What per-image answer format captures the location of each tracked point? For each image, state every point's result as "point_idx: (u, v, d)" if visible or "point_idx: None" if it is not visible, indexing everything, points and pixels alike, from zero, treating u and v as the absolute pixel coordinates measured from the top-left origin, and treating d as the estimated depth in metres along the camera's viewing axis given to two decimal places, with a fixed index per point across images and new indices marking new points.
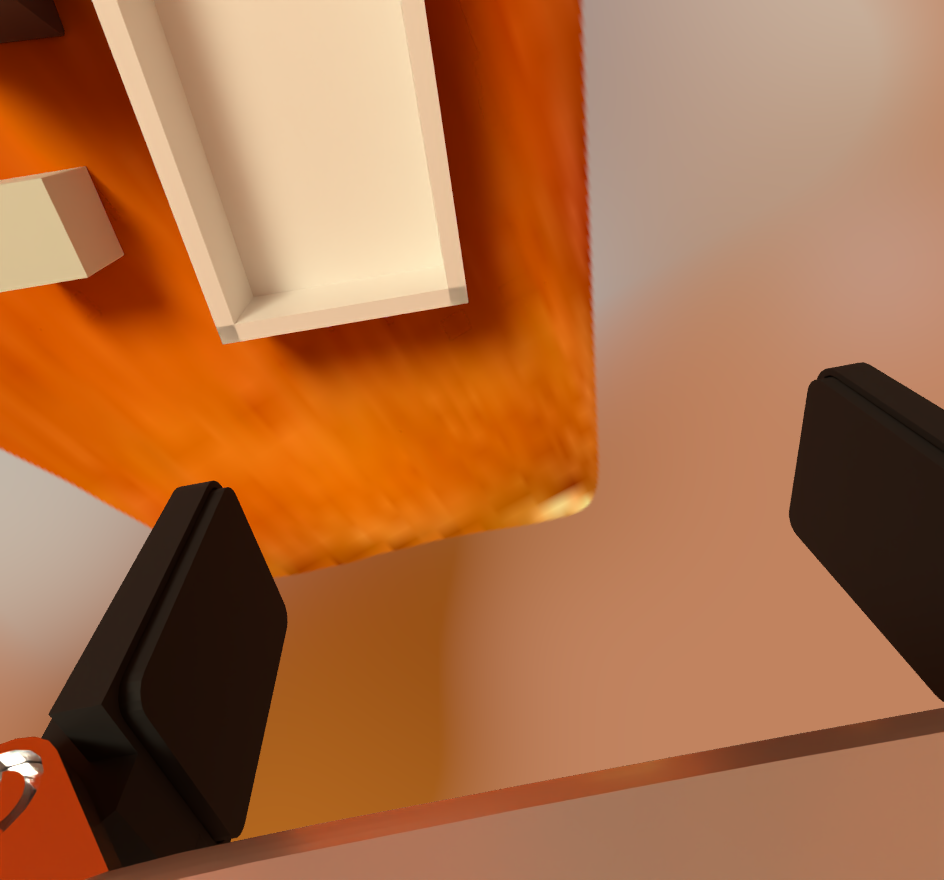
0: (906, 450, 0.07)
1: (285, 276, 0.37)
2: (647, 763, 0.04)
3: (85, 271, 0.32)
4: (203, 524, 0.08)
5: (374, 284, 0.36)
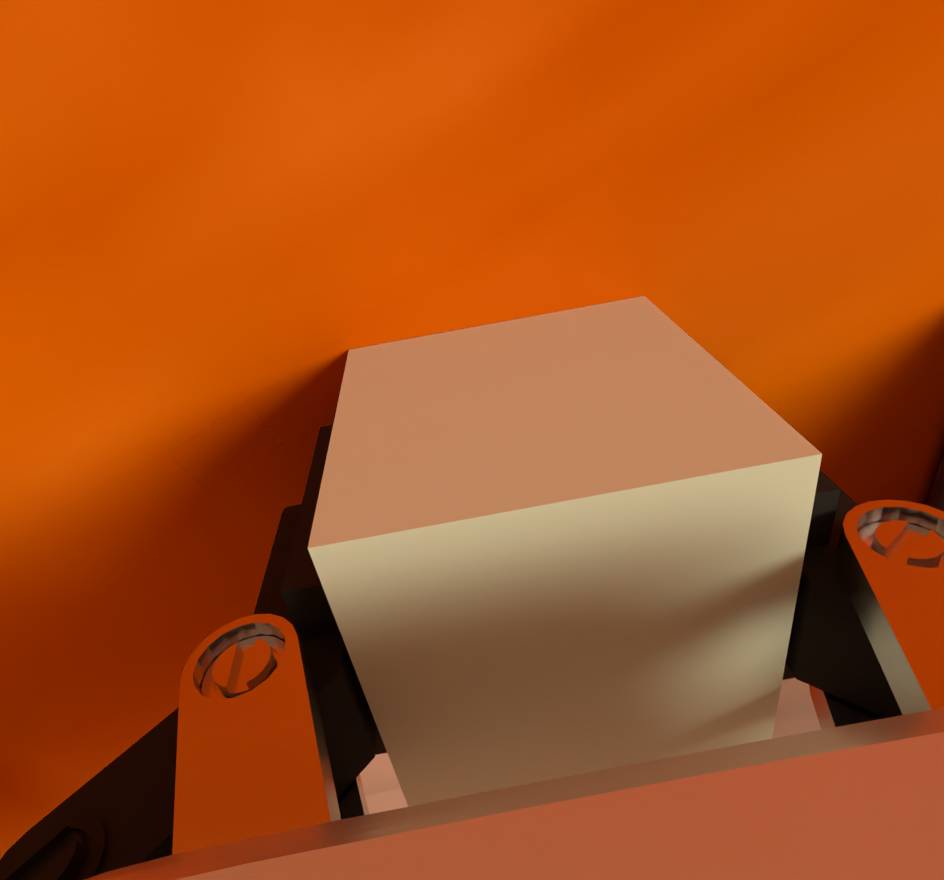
0: None
1: None
2: (647, 763, 0.04)
3: None
4: None
5: None
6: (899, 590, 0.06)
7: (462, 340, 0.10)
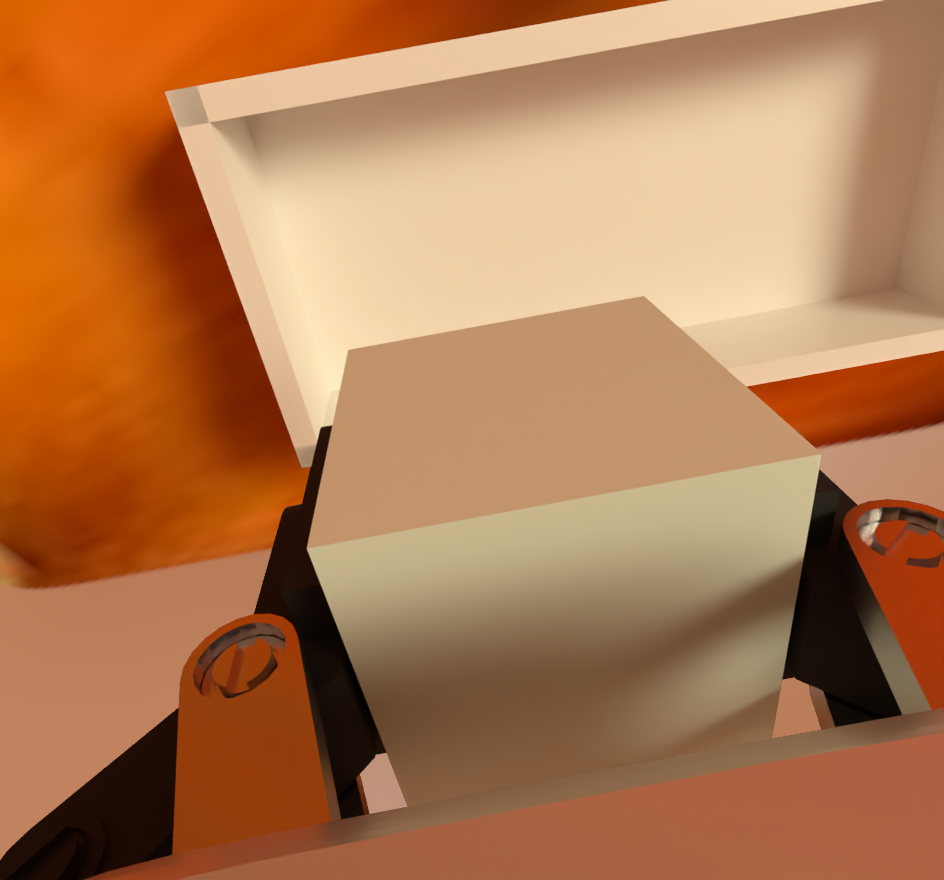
0: None
1: (287, 174, 0.24)
2: (647, 763, 0.04)
3: None
4: None
5: (298, 320, 0.26)
6: (899, 590, 0.06)
7: (462, 340, 0.10)
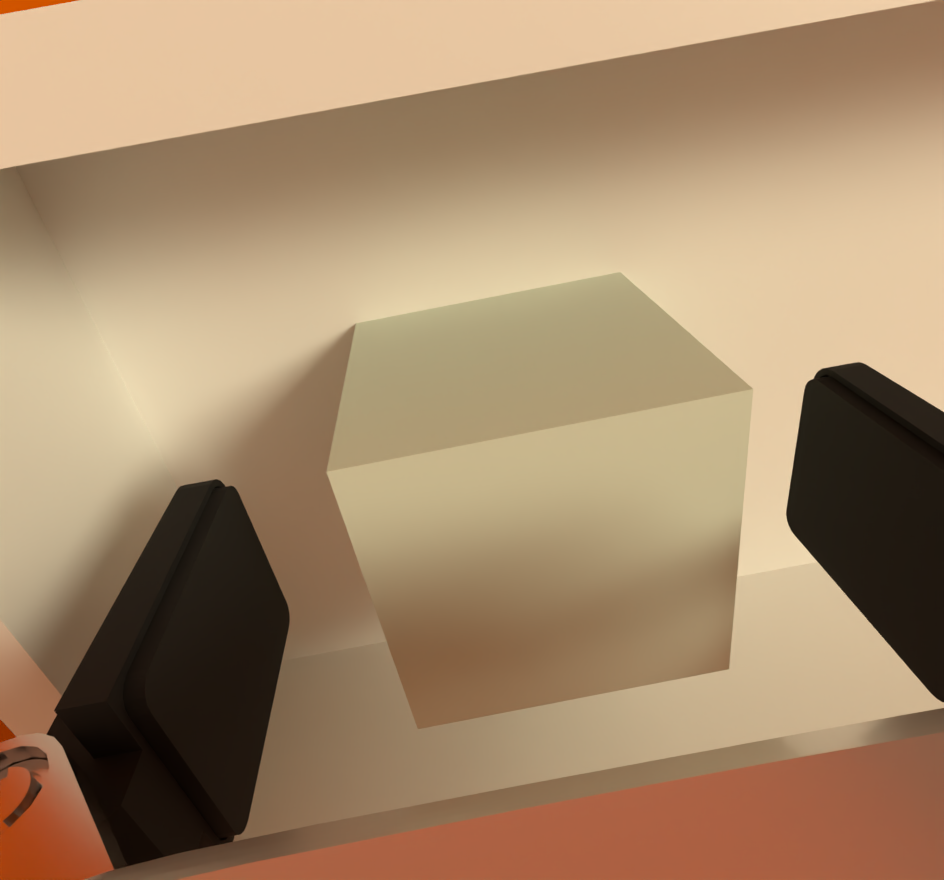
0: (901, 449, 0.07)
1: (134, 292, 0.11)
2: (647, 763, 0.04)
3: (437, 723, 0.10)
4: (206, 522, 0.08)
5: None
6: None
7: (457, 312, 0.11)
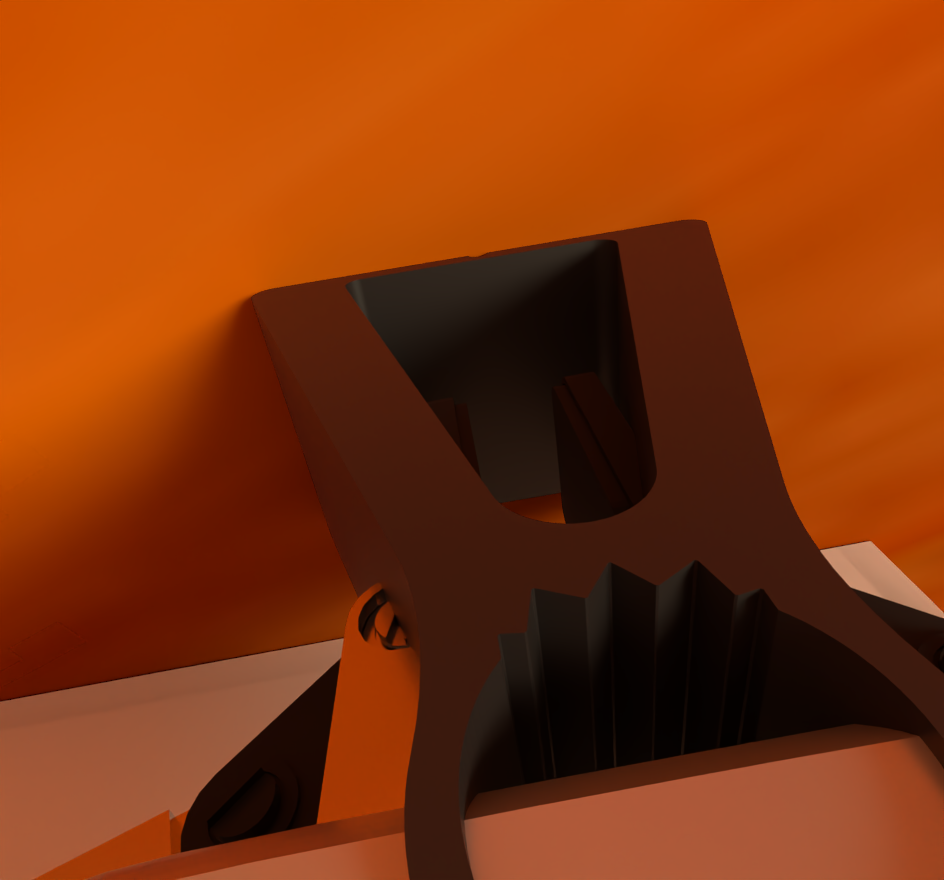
0: (581, 449, 0.08)
1: None
2: (647, 763, 0.04)
3: None
4: (464, 428, 0.09)
5: None
6: None
7: None
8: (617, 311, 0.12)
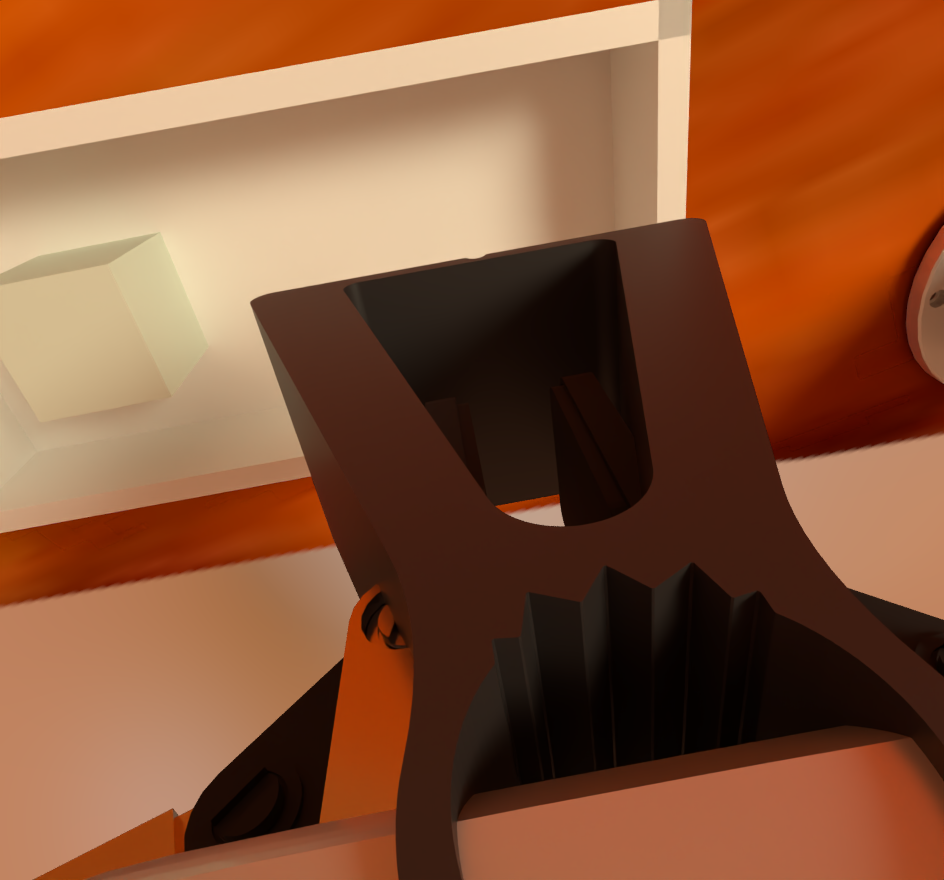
0: (579, 450, 0.08)
1: None
2: (647, 763, 0.04)
3: (49, 420, 0.23)
4: (467, 427, 0.09)
5: None
6: None
7: (78, 249, 0.24)
8: (616, 311, 0.12)
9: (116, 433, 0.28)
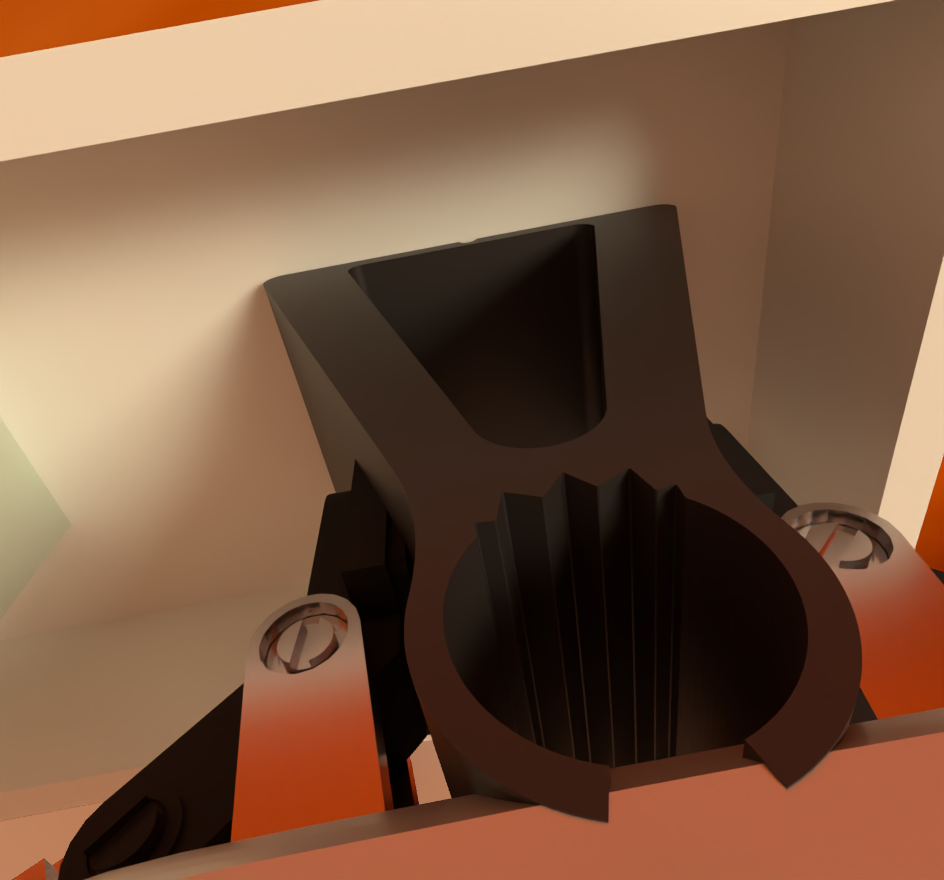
0: None
1: None
2: (647, 763, 0.04)
3: None
4: None
5: None
6: None
7: None
8: (596, 290, 0.13)
9: None
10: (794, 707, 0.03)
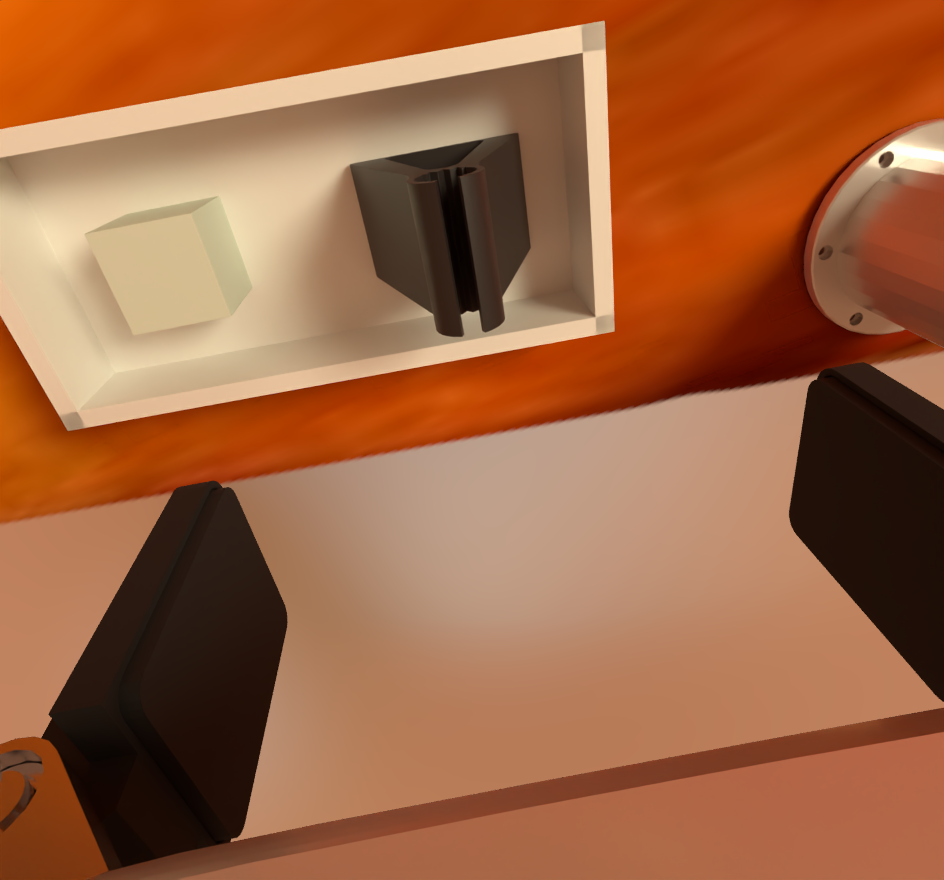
0: (906, 450, 0.07)
1: (47, 201, 0.31)
2: (646, 763, 0.04)
3: (140, 333, 0.30)
4: (203, 524, 0.08)
5: (66, 314, 0.33)
6: None
7: (158, 208, 0.32)
8: None
9: (178, 358, 0.36)
10: (466, 175, 0.22)
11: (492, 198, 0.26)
